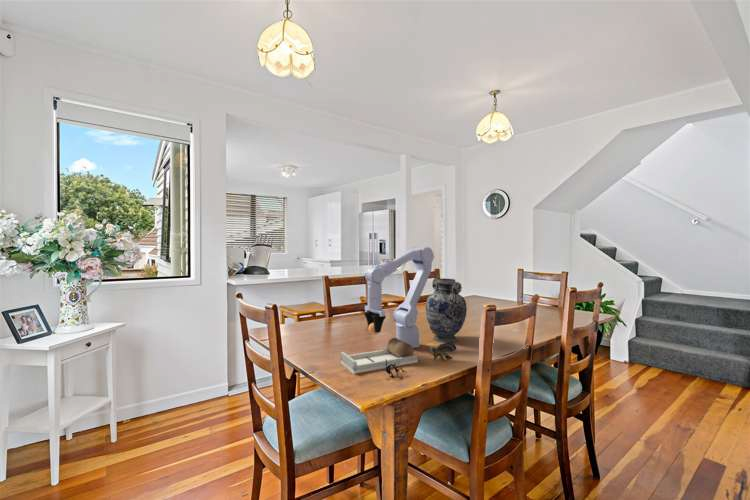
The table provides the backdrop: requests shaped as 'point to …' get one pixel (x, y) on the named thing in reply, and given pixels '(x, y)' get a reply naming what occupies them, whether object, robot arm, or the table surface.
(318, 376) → the table surface
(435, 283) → the decorative vase
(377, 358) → the lane
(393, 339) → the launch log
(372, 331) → the ball
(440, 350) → the withered leafy plant
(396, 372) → the creature
